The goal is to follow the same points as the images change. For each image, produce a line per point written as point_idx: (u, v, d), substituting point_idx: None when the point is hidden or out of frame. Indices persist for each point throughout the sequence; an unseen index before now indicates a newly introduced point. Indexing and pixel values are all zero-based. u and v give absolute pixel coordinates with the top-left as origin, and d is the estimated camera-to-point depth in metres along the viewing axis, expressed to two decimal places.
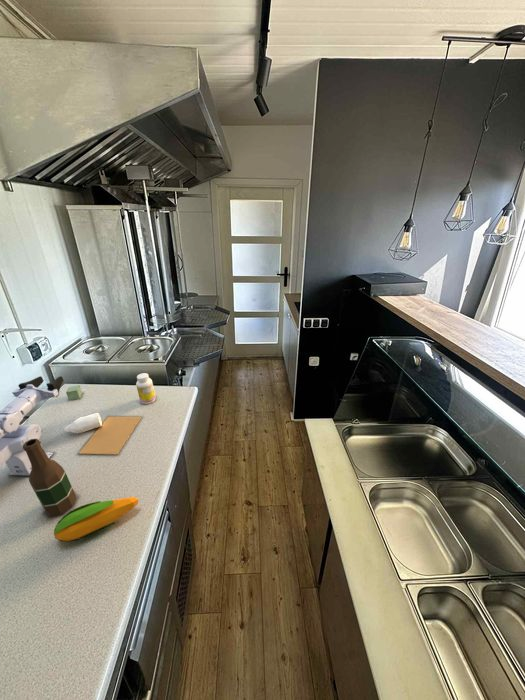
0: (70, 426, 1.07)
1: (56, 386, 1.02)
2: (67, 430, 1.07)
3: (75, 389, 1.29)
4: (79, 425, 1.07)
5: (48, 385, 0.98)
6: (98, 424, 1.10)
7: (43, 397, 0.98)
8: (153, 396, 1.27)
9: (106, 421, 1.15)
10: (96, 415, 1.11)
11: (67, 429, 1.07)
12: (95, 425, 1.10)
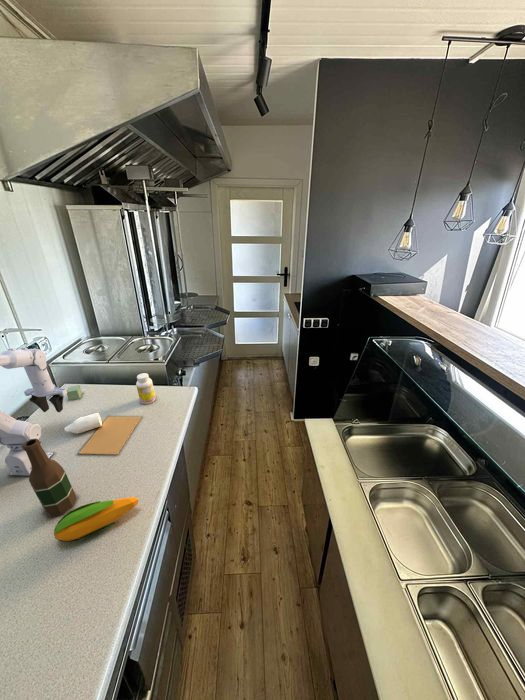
0: (70, 426, 1.07)
1: None
2: (67, 430, 1.07)
3: (75, 389, 1.29)
4: (79, 425, 1.07)
5: None
6: (98, 424, 1.10)
7: (49, 392, 1.02)
8: (153, 396, 1.27)
9: (106, 421, 1.15)
10: (96, 415, 1.11)
11: (67, 429, 1.07)
12: (95, 425, 1.10)
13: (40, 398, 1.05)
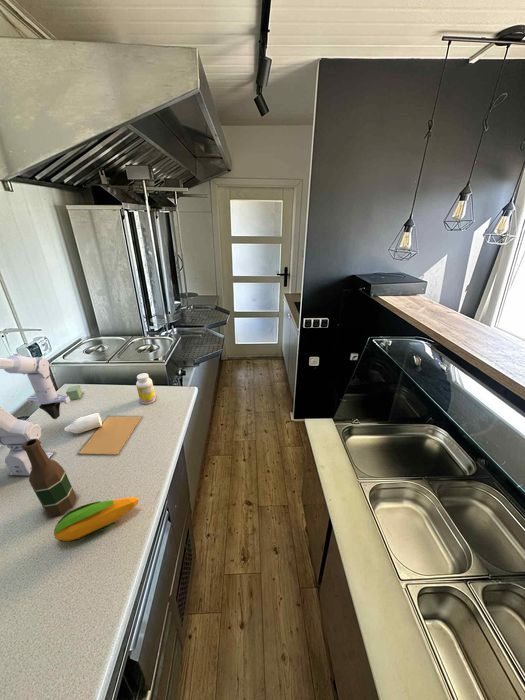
0: (70, 426, 1.07)
1: (54, 409, 1.07)
2: (67, 430, 1.07)
3: (75, 389, 1.29)
4: (79, 425, 1.07)
5: None
6: (98, 424, 1.10)
7: (52, 400, 1.04)
8: (153, 396, 1.27)
9: (106, 421, 1.15)
10: (96, 415, 1.11)
11: (67, 429, 1.07)
12: (95, 425, 1.10)
13: None
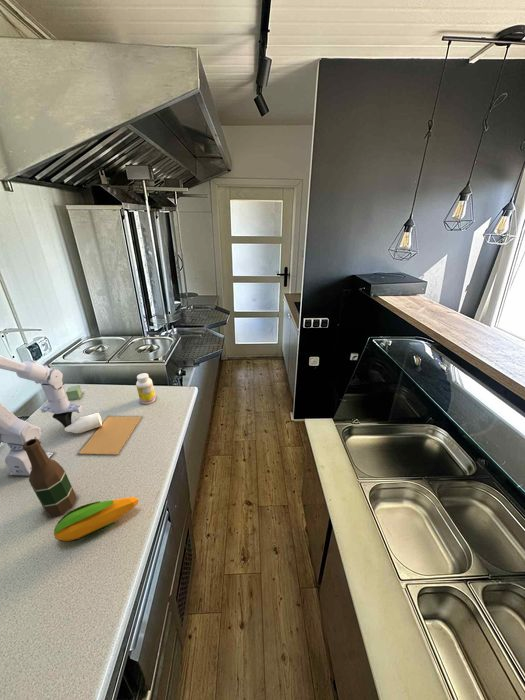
0: (70, 426, 1.07)
1: None
2: (67, 430, 1.07)
3: (75, 389, 1.29)
4: (79, 425, 1.07)
5: None
6: (98, 424, 1.10)
7: (65, 409, 1.06)
8: (153, 396, 1.27)
9: (106, 421, 1.15)
10: (96, 415, 1.11)
11: (67, 429, 1.07)
12: (95, 425, 1.10)
13: None
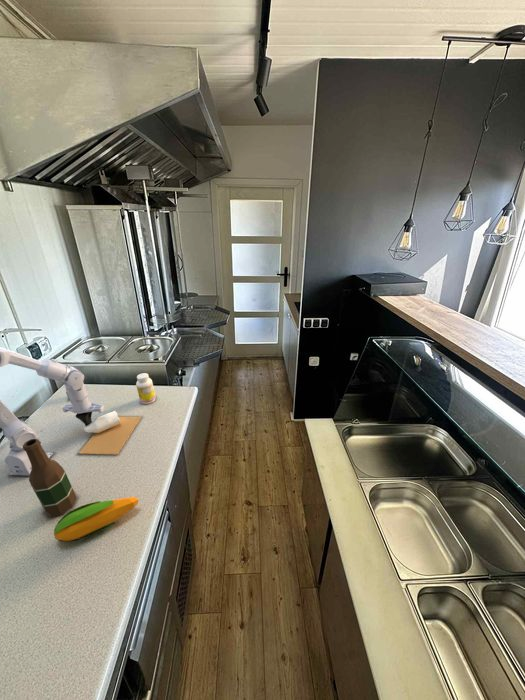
0: (90, 426, 1.07)
1: (86, 418, 1.08)
2: (87, 430, 1.06)
3: None
4: (100, 424, 1.07)
5: None
6: (118, 422, 1.11)
7: (87, 409, 1.05)
8: (153, 396, 1.27)
9: None
10: (115, 413, 1.11)
11: (87, 429, 1.06)
12: (115, 423, 1.10)
13: None
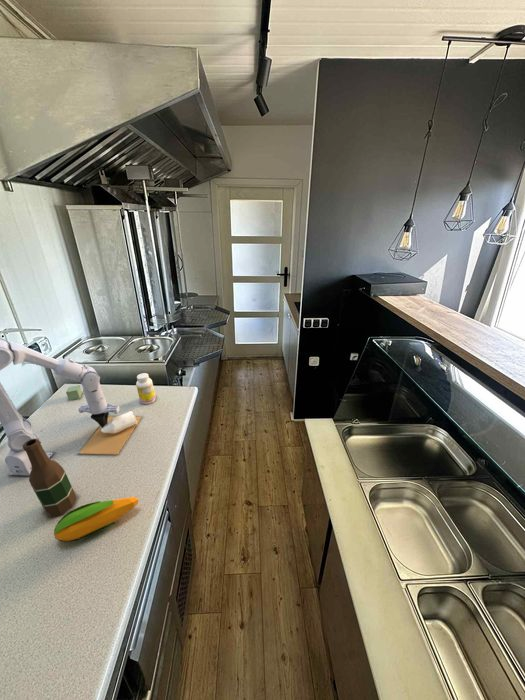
0: (107, 427, 1.06)
1: None
2: (105, 431, 1.05)
3: (75, 389, 1.29)
4: (117, 424, 1.07)
5: None
6: (134, 422, 1.11)
7: (104, 410, 1.05)
8: (153, 396, 1.27)
9: None
10: (131, 413, 1.11)
11: (105, 430, 1.05)
12: (132, 423, 1.10)
13: None
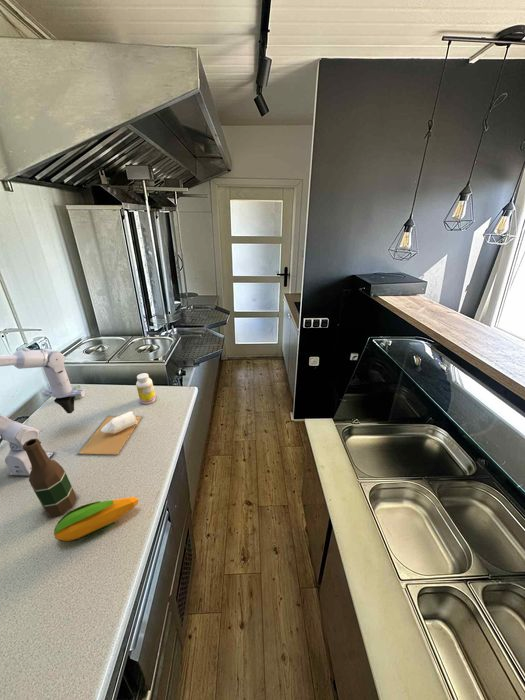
0: (107, 427, 1.06)
1: (68, 403, 1.05)
2: (105, 431, 1.05)
3: None
4: (117, 424, 1.07)
5: None
6: (134, 422, 1.11)
7: (68, 393, 1.02)
8: (153, 396, 1.27)
9: (106, 421, 1.15)
10: (131, 413, 1.11)
11: (105, 430, 1.05)
12: (132, 423, 1.10)
13: None
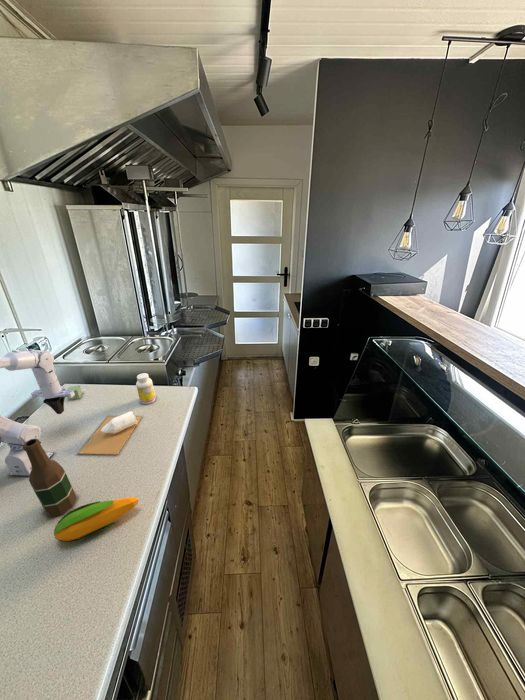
0: (107, 427, 1.06)
1: None
2: (105, 431, 1.05)
3: (75, 389, 1.29)
4: (117, 424, 1.07)
5: None
6: (134, 422, 1.11)
7: (57, 394, 1.01)
8: (153, 396, 1.27)
9: (106, 421, 1.15)
10: (131, 413, 1.11)
11: (105, 430, 1.05)
12: (132, 423, 1.10)
13: None
